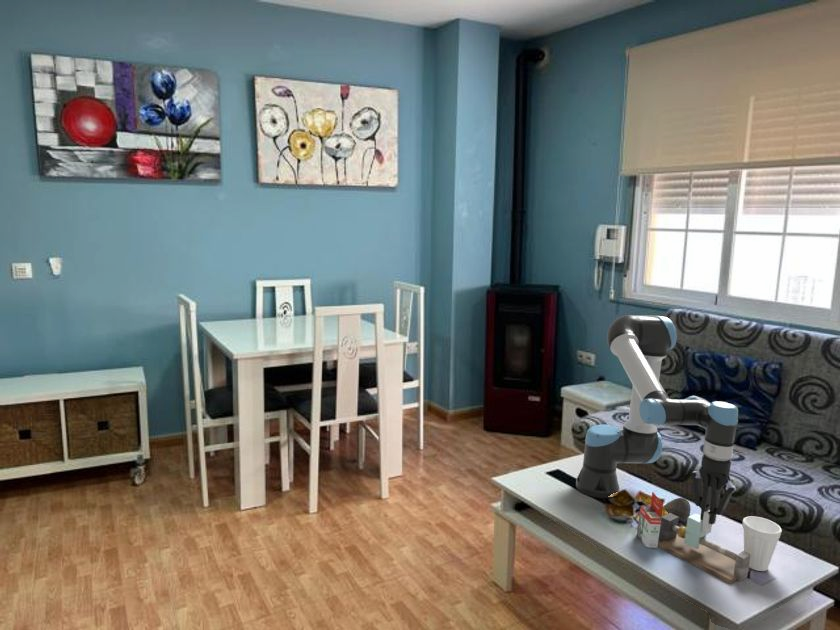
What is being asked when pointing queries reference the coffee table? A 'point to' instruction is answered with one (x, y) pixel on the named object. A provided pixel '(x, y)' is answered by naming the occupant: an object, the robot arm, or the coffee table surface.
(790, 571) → the coffee table surface
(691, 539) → the sleeve
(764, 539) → the cup
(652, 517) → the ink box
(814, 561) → the coffee table surface
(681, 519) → the stone
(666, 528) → the wooden slider rod stand
